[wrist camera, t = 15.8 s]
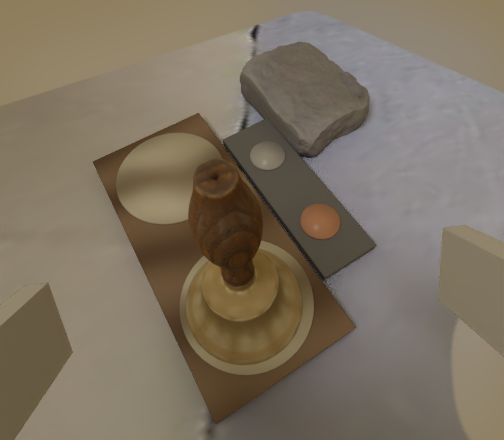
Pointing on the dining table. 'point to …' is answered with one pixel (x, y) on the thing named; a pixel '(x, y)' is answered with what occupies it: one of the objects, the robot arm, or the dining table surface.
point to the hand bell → (237, 273)
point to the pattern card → (299, 199)
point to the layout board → (191, 259)
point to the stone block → (304, 96)
